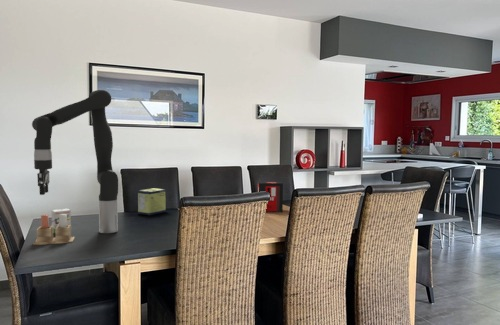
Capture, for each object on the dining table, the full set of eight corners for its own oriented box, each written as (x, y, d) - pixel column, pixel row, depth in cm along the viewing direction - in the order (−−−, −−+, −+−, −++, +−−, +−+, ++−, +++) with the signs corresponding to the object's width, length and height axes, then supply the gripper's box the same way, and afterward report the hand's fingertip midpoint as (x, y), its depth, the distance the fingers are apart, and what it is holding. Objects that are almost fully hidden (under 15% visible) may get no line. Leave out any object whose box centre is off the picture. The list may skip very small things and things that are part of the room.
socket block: (74, 237, 197) (74, 224, 197) (72, 242, 189) (71, 228, 188) (37, 240, 193) (36, 226, 192) (32, 245, 184) (32, 230, 183)
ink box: (54, 233, 205) (53, 211, 204) (51, 231, 209) (51, 210, 208) (71, 231, 211) (70, 209, 210) (68, 229, 214) (68, 208, 214)
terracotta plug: (49, 231, 191) (49, 214, 191) (48, 233, 188) (47, 215, 188) (42, 232, 190) (41, 214, 190) (40, 233, 187) (40, 216, 187)
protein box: (166, 211, 266) (166, 189, 265) (148, 215, 253) (148, 191, 252) (155, 210, 271) (154, 187, 270) (137, 213, 258) (137, 190, 257)
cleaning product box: (258, 212, 267) (258, 183, 266) (257, 209, 276) (257, 181, 275) (282, 212, 268) (283, 183, 267) (280, 209, 277) (281, 181, 276)
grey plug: (67, 230, 194) (67, 213, 193) (66, 232, 190) (65, 215, 190) (60, 231, 193) (59, 214, 192) (59, 232, 190) (58, 215, 189)
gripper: (48, 159, 181) (49, 195, 182) (54, 158, 195) (55, 191, 196) (30, 160, 179) (31, 196, 180) (37, 158, 192) (38, 191, 194)
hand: (44, 193), depth 188 cm, fingers open, 6 cm apart
